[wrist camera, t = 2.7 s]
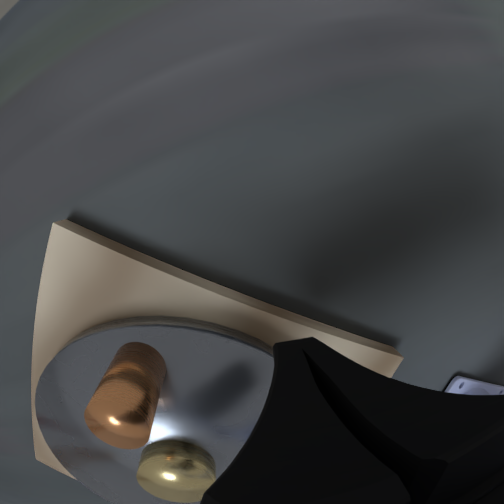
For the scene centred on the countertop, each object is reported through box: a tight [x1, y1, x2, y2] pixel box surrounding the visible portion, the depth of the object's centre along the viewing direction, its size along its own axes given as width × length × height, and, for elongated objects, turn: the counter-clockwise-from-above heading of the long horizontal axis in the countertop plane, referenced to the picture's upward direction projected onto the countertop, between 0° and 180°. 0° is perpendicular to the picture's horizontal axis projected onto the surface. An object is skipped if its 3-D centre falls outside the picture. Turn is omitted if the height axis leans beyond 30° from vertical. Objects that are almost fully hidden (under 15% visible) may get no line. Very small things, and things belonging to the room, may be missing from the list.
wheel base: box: [31, 219, 404, 480], centre depth 14 cm, size 17×17×1 cm
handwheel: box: [35, 316, 274, 504], centre depth 11 cm, size 15×15×5 cm
